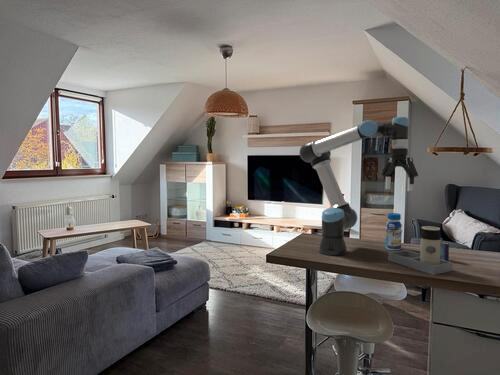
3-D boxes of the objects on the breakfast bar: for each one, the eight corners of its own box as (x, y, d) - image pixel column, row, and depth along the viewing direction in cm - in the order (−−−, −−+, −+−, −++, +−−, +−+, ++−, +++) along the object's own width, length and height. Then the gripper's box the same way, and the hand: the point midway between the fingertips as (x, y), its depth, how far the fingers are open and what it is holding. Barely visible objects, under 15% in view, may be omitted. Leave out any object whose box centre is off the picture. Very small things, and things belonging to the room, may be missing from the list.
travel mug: (422, 262, 156) (423, 225, 155) (441, 266, 151) (442, 227, 150) (418, 267, 150) (419, 228, 149) (437, 270, 145) (439, 230, 144)
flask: (429, 257, 169) (430, 236, 168) (433, 256, 170) (434, 236, 170) (446, 262, 161) (447, 240, 160) (450, 261, 162) (451, 240, 161)
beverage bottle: (392, 246, 192) (393, 212, 191) (404, 249, 184) (405, 214, 183) (382, 247, 188) (382, 213, 187) (393, 251, 181) (394, 215, 179)
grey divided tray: (388, 260, 164) (388, 252, 164) (406, 257, 170) (406, 249, 169) (433, 274, 142) (433, 266, 142) (452, 270, 148) (452, 262, 147)
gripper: (375, 149, 177) (374, 188, 178) (416, 146, 154) (414, 192, 156) (385, 149, 180) (384, 188, 181) (426, 147, 157) (425, 191, 159)
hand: (398, 189), depth 168 cm, fingers open, 13 cm apart
